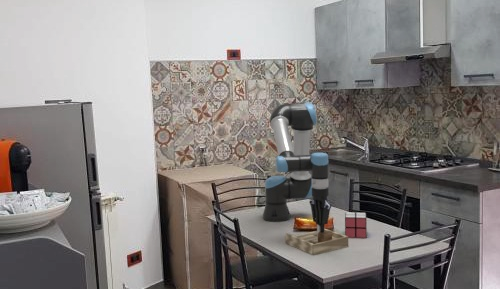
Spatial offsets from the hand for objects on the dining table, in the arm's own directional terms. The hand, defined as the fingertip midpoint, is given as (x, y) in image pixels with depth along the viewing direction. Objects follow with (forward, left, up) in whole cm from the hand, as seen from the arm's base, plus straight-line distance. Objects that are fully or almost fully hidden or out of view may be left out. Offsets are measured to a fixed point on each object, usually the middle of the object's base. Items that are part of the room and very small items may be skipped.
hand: (320, 238), depth 229 cm
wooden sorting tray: (-4, 0, -4) cm, 5 cm away
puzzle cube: (-4, +25, -4) cm, 26 cm away
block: (+3, 0, -1) cm, 3 cm away
